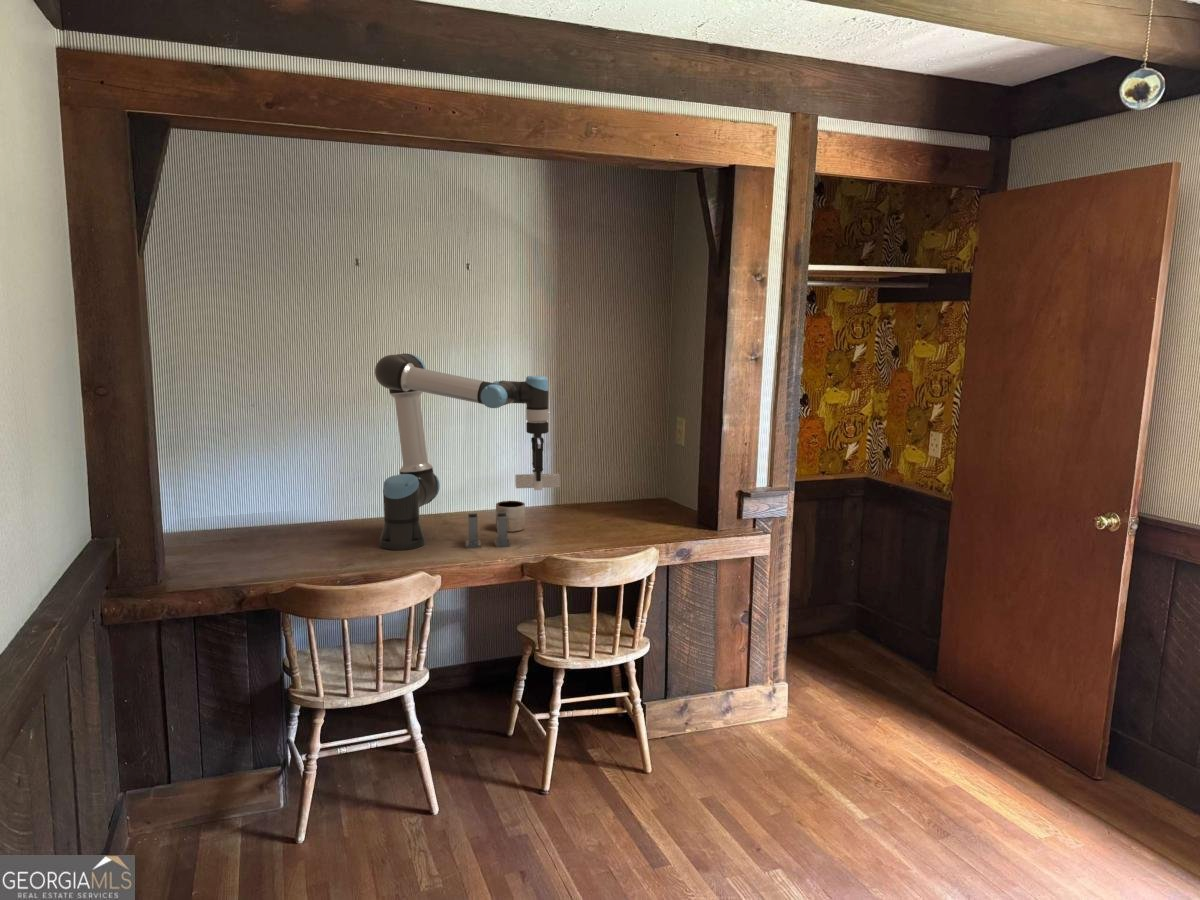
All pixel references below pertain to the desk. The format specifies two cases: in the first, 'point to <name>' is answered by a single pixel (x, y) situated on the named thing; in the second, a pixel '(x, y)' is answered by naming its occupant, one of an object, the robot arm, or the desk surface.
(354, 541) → the desk surface
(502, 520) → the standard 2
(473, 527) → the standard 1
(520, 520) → the planter
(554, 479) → the rail
